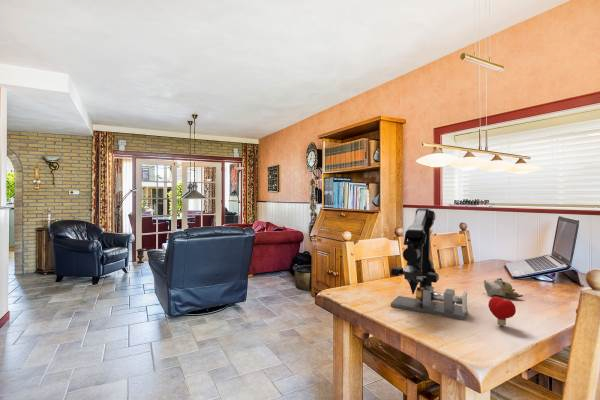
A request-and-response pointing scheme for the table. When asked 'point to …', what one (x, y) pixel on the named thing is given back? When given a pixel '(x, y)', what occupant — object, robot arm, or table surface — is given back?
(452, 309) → the bearing frame
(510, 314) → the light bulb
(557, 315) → the table surface
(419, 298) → the shaft
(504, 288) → the ceramic sculpture
